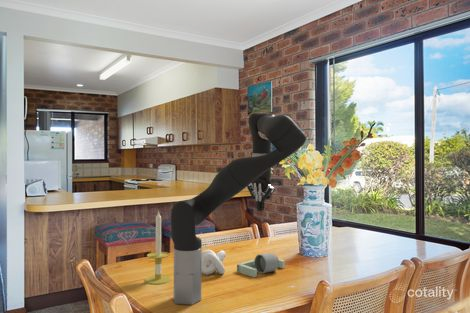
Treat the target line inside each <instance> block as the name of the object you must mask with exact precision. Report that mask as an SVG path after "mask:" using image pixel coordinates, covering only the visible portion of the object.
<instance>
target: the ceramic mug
mask: <svg viewBox="0 0 470 313" xmlns="http://www.w3.org/2000/svg"><path fill="white" fill-rule="evenodd" d="M278 259H279V257H278V255H276V254H275V253H271V252H270V253H260V254H257V255H255V258H254V259H253V260H254V267H255V269H257V273H259V274H266V273H271V272H275V271H276V270H277V269H278V268H279V267H278V266H279V260H278Z"/></svg>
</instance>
